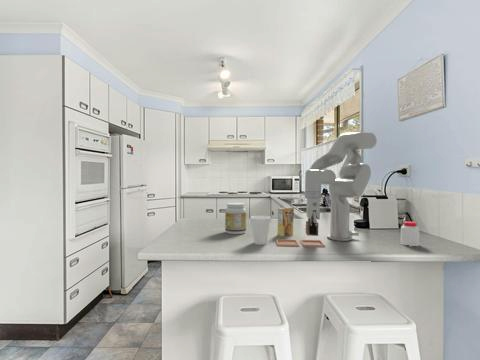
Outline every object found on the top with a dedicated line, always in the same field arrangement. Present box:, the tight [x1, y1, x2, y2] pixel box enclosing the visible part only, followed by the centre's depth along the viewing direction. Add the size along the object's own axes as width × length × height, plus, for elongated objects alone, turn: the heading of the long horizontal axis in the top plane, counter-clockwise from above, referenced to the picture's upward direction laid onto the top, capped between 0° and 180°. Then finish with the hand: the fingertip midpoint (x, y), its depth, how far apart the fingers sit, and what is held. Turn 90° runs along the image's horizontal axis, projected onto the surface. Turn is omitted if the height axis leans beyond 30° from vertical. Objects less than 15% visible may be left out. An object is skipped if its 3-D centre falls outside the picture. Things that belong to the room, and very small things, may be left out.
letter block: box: [305, 220, 319, 237], centre depth 141 cm, size 5×5×6 cm
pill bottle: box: [400, 220, 420, 247], centre depth 143 cm, size 8×8×11 cm
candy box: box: [276, 206, 295, 237], centre depth 162 cm, size 9×4×15 cm, turn 129°
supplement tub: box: [224, 201, 247, 235], centre depth 168 cm, size 12×12×17 cm
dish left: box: [299, 239, 326, 248], centre depth 141 cm, size 10×10×1 cm
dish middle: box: [275, 238, 300, 248], centre depth 142 cm, size 10×10×1 cm
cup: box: [250, 215, 272, 246], centre depth 143 cm, size 10×10×13 cm
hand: (311, 232), depth 141 cm, fingers closed on letter block, 5 cm apart
